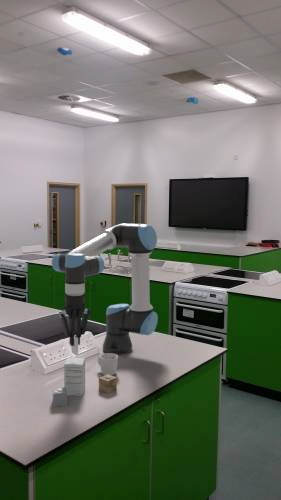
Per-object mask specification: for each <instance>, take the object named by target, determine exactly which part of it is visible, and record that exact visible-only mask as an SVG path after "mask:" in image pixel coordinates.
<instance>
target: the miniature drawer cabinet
mask: <svg viewBox="0 0 281 500" xmlns="http://www.w3.org/2000/svg"><path fill="white" fill-rule="evenodd" d="M63 365H64V367H63V370H64V371H63V379H64V382H63V383H64V386H63V387H66V389H67V396H77V397H78V396H80V397H81V396H84V393H85V391H86V390H85V389H86V358H85V357H67V358H66V360H65V362H64V364H63Z"/></svg>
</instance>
